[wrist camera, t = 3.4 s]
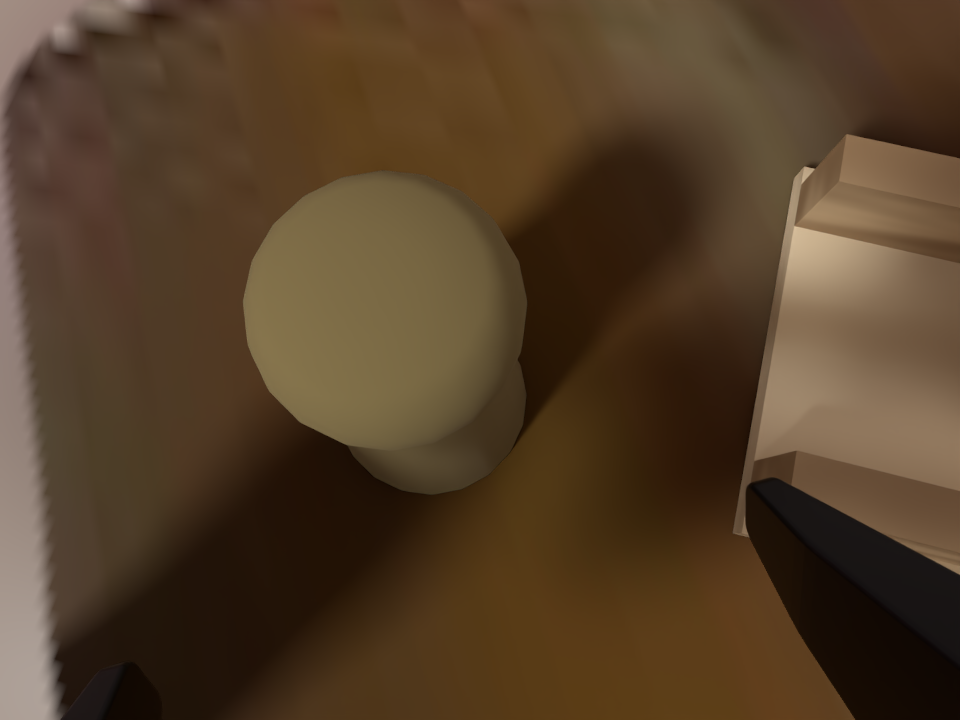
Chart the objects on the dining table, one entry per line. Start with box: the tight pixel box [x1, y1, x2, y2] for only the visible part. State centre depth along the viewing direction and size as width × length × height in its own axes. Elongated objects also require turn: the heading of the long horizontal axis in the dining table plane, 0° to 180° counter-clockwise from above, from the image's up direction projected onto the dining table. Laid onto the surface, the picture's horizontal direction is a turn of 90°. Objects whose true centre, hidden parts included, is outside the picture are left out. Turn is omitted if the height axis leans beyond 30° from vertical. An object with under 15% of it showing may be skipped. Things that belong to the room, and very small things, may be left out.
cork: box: [243, 170, 527, 495], centre depth 17 cm, size 6×6×11 cm
